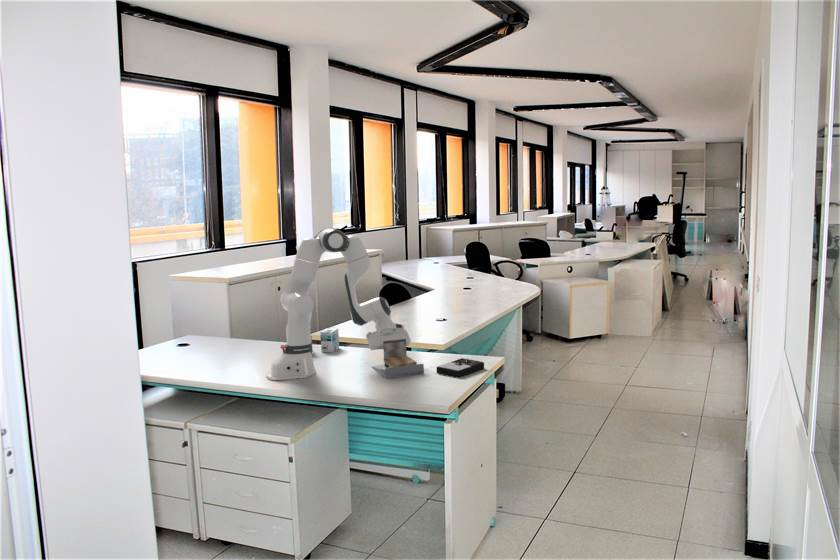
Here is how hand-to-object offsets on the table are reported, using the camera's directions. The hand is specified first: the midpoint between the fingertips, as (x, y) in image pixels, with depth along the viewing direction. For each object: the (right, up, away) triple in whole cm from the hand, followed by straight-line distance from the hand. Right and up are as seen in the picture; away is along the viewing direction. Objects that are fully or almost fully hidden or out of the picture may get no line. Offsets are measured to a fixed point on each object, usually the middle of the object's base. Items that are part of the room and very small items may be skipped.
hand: (393, 354), depth 322 cm
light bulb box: (-35, -2, +41) cm, 54 cm away
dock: (+2, -8, -3) cm, 9 cm away
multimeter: (+31, -7, -9) cm, 33 cm away
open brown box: (+3, -6, -6) cm, 9 cm away
